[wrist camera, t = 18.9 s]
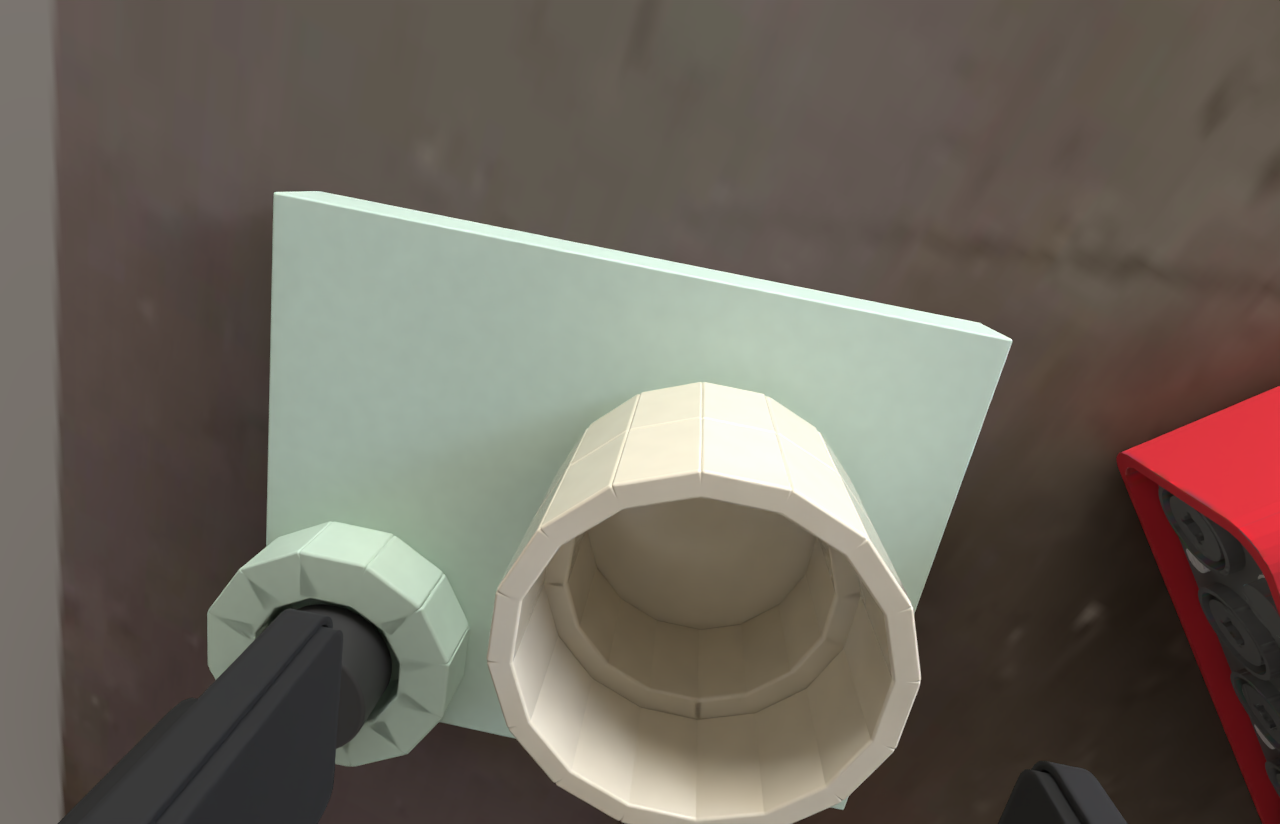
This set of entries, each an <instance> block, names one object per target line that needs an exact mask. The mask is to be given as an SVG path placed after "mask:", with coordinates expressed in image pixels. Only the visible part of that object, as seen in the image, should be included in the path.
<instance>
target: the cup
mask: <svg viewBox="0 0 1280 824" xmlns="http://www.w3.org/2000/svg"><path fill="white" fill-rule="evenodd" d="M486 658H487V665H488V669H489V672H490V675H491V678H492V681H493V684H494V687H495V691H496V694H497V697H498V700H499V703H500V706H501V710H502V713H503V716H504V719H505V722H506V725H507V727H508V728H509V731H510V732H511V733H512V734H513V736H514V737H515V738H516V739H517V740H518V742H519V743H520V744H521V745H522V746H523V747H524V749H525V750H526V751H527V752H528V753H529V755H530V756H531V757H532V758H533V759H534V760H535V762H536V763H537V764H538V765H539V766H540V768H541V769H542V770H543V771H544V772H545V773H546V775H547V776H548V777H549V778H550V779H551V781H552V782H554V783H556V785H557V786H559V787H560V788H562V789H564V790H565V791H567V792H569V793H571V794H572V795H574V796H576V797H578V798H579V799H581V800H583V801H584V802H586V803H588V804H590V805H591V806H593V807H595V808H596V809H598V810H600V811H602V812H603V813H605V814H607V815H608V816H610V817H612V818H614V819H615V820H617V821H620V820H621V822H622V823H626V824H793V823H795V822H797V821H800V820H802V819H804V818H807V817H809V816H811V815H814V814H816V813H818V812H820V811H823V810H825V809H827V808H830V807H832V806H834V805H837V804H839V803H841V802H842V800H845V799H846V798H847V797H848V796H849V795H850V794H851V793H852V792H853V791H854V790H856V789H857V788H858V787H859V786H860V785H861V784H862V783H863V782H864V781H865V780H866V779H867V778H868V777H869V776H870V775H871V774H872V773H873V772H874V771H875V770H876V769H877V768H878V767H879V766H880V765H881V764H882V763H883V762H884V761H885V760H886V759H887V758H888V757H889V756H890V755H891V754H892V753H893V752H894V749H895V748H896V747H897V745H898V742H899V740H900V737H901V734H902V732H903V729H904V726H905V724H906V721H907V718H908V716H909V713H910V711H911V708H912V705H913V703H914V700H915V697H916V695H917V692H918V689H919V687H920V681H921V670H920V662H919V653H918V644H917V635H916V627H915V618H914V609H913V607H912V605H911V601H910V599H909V597H908V595H907V593H906V591H905V589H904V587H903V585H902V583H901V581H900V579H899V577H898V575H897V573H896V571H895V569H894V567H893V565H892V563H891V561H890V559H889V557H888V554H887V552H886V550H885V548H884V546H883V544H882V542H881V540H880V538H879V536H878V534H877V532H876V530H875V529H874V527H873V524H872V522H871V520H870V518H869V516H868V514H867V512H866V510H865V508H864V506H863V504H862V502H861V500H860V498H859V496H858V494H857V492H856V490H855V488H854V486H853V484H852V482H851V480H850V478H849V476H848V474H847V473H846V471H845V470H844V468H843V467H842V465H841V463H840V462H839V460H838V459H837V457H836V456H835V454H834V453H833V451H832V449H831V448H830V446H829V445H828V443H827V442H826V440H825V439H824V437H823V435H822V434H821V433H820V432H818V431H817V429H816V428H815V427H814V426H812V425H811V424H809V423H808V422H806V421H805V420H803V419H802V418H800V417H799V416H797V415H796V414H794V413H793V412H791V411H790V410H788V409H787V408H785V407H784V406H782V405H781V404H779V403H778V402H776V401H775V400H773V399H772V398H770V397H767V396H765V395H764V394H761V393H757V392H752V391H747V390H742V389H737V388H732V387H727V386H722V385H717V384H712V383H707V382H703V383H702V382H697V383H691V384H686V385H680V386H675V387H669V388H663V389H658V390H652V391H647V392H642V393H640V394H638V395H635V396H634V397H632V398H631V399H629V400H628V401H626V402H624V403H623V404H621V405H620V406H618V407H617V408H615V409H613V410H612V411H610V412H609V413H607V414H606V415H604V416H602V417H601V418H599V419H598V420H596V421H595V422H593V423H591V424H590V426H589V428H587V429H586V430H585V431H584V433H583V434H582V435H581V437H580V438H579V440H578V441H577V443H576V444H575V446H574V447H573V449H572V450H571V452H570V453H569V455H568V456H567V458H566V459H565V461H564V462H563V464H562V465H561V467H560V468H559V470H558V472H557V474H556V475H555V477H554V479H553V481H552V483H551V485H550V487H549V489H548V491H547V493H546V495H545V497H544V499H543V501H542V503H541V505H540V507H539V508H538V510H537V512H536V514H535V517H534V518H533V520H532V522H531V524H530V525H529V527H528V529H527V531H526V533H525V535H524V537H523V539H522V541H521V543H520V545H519V547H518V549H517V551H516V553H515V555H514V556H513V558H512V560H511V562H510V564H509V566H508V568H507V570H506V572H505V574H504V576H503V578H502V580H501V582H500V584H499V586H498V588H497V591H496V593H495V600H494V607H493V614H492V621H491V629H490V636H489V643H488V650H487V657H486Z"/></svg>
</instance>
